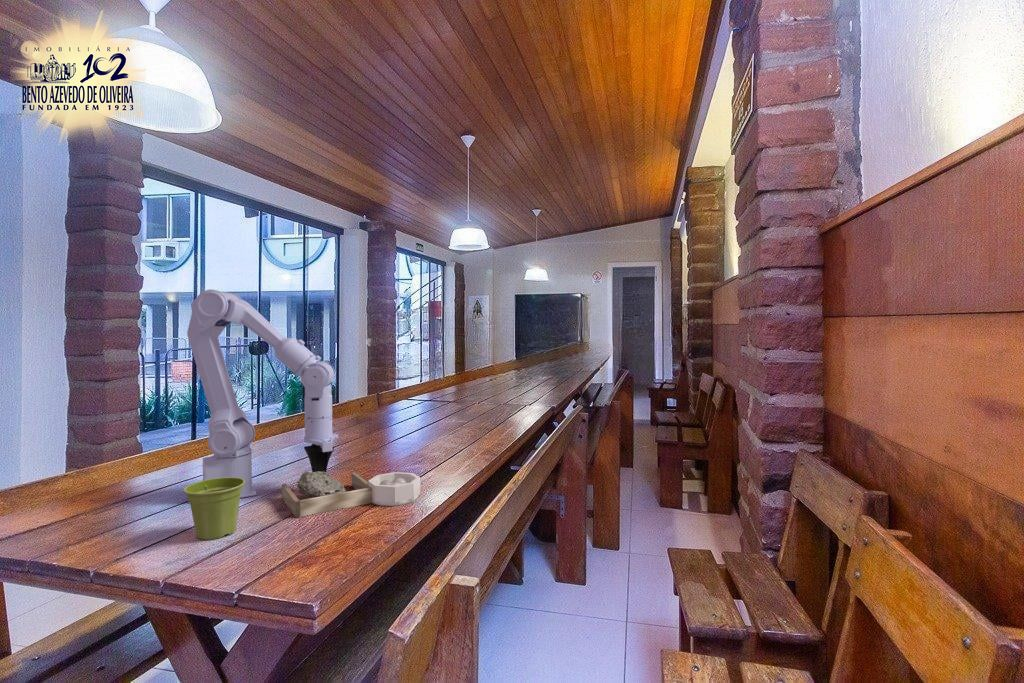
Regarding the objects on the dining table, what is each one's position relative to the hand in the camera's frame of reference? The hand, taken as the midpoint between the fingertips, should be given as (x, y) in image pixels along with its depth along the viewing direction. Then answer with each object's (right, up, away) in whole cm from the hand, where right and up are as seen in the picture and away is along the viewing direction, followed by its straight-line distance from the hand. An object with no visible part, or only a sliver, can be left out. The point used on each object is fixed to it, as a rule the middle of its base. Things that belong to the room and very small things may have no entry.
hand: (319, 477), depth 114 cm
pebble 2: (+18, -1, -7) cm, 20 cm away
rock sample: (+3, -3, -4) cm, 6 cm away
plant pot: (-10, -4, -23) cm, 25 cm away
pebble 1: (+16, -1, -5) cm, 17 cm away
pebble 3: (+18, -1, -3) cm, 19 cm away
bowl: (+18, -3, -5) cm, 19 cm away
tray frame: (+4, -3, -6) cm, 7 cm away
